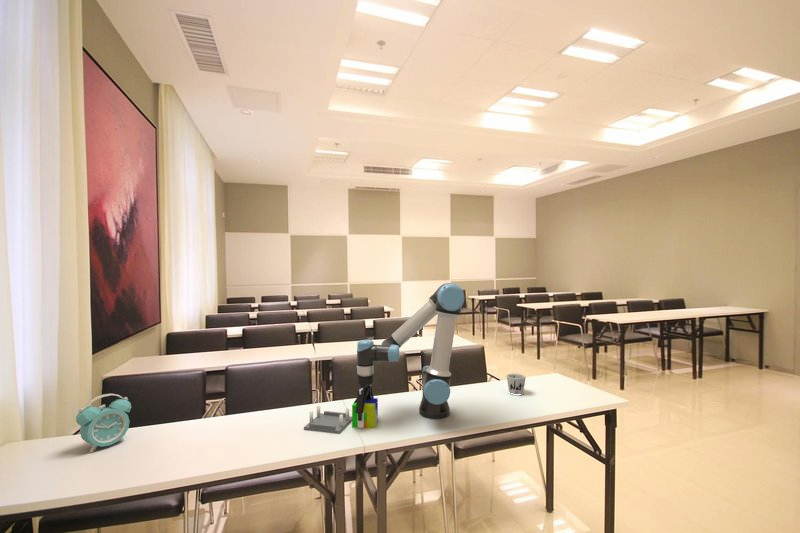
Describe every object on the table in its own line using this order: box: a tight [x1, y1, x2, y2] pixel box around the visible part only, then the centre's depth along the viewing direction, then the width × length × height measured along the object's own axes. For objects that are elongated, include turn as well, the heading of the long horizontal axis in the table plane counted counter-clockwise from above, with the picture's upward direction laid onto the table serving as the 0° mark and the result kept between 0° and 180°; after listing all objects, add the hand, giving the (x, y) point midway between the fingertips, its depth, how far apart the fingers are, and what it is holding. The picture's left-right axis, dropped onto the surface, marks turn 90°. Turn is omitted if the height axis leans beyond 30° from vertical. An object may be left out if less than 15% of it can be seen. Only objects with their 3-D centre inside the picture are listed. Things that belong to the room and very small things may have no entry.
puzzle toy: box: [351, 397, 379, 429], centre depth 166 cm, size 10×10×10 cm
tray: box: [303, 405, 352, 435], centre depth 165 cm, size 17×16×6 cm
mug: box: [506, 373, 527, 395], centre depth 209 cm, size 10×15×10 cm
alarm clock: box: [75, 393, 132, 453], centre depth 145 cm, size 17×10×20 cm, turn 148°
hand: (365, 422), depth 166 cm, fingers open, 11 cm apart
